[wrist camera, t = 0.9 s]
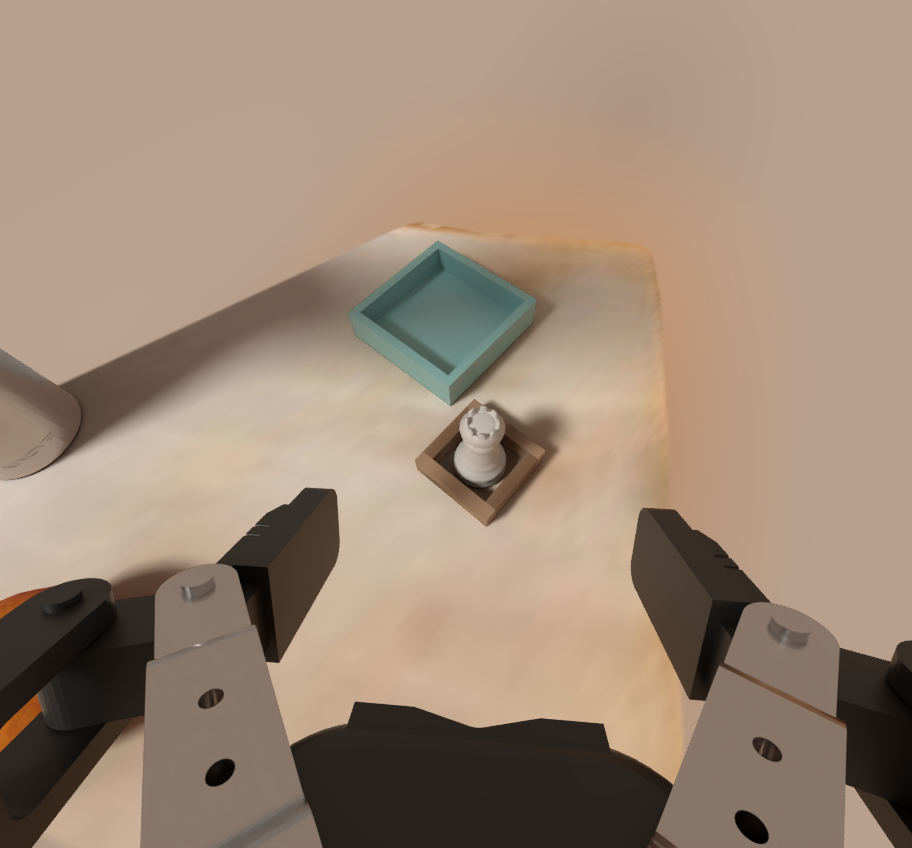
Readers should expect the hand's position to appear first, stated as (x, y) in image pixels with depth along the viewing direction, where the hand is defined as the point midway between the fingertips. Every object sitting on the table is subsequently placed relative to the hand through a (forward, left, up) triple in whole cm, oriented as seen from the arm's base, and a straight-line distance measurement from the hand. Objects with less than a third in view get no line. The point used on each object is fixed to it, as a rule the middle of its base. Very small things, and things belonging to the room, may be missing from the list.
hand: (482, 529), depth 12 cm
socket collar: (-7, +9, -23) cm, 26 cm away
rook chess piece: (-7, +9, -23) cm, 26 cm away
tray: (-19, +18, -23) cm, 35 cm away
